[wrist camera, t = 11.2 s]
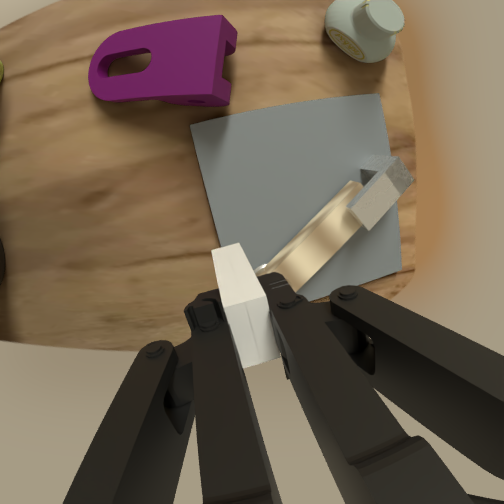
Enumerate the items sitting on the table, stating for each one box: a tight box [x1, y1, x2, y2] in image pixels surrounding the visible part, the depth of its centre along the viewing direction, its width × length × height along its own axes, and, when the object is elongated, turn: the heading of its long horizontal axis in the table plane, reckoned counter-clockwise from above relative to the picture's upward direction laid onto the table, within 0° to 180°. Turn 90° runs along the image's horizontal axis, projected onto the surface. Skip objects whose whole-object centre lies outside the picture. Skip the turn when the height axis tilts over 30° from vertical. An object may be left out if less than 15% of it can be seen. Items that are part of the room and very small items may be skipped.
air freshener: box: [325, 0, 404, 63], centre depth 33 cm, size 11×8×10 cm
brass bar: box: [255, 181, 363, 292], centre depth 43 cm, size 20×5×3 cm, turn 135°
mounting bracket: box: [88, 15, 237, 107], centre depth 34 cm, size 9×8×18 cm
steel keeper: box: [345, 155, 414, 231], centre depth 41 cm, size 10×4×6 cm, turn 135°
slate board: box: [190, 93, 402, 301], centre depth 44 cm, size 27×28×2 cm
